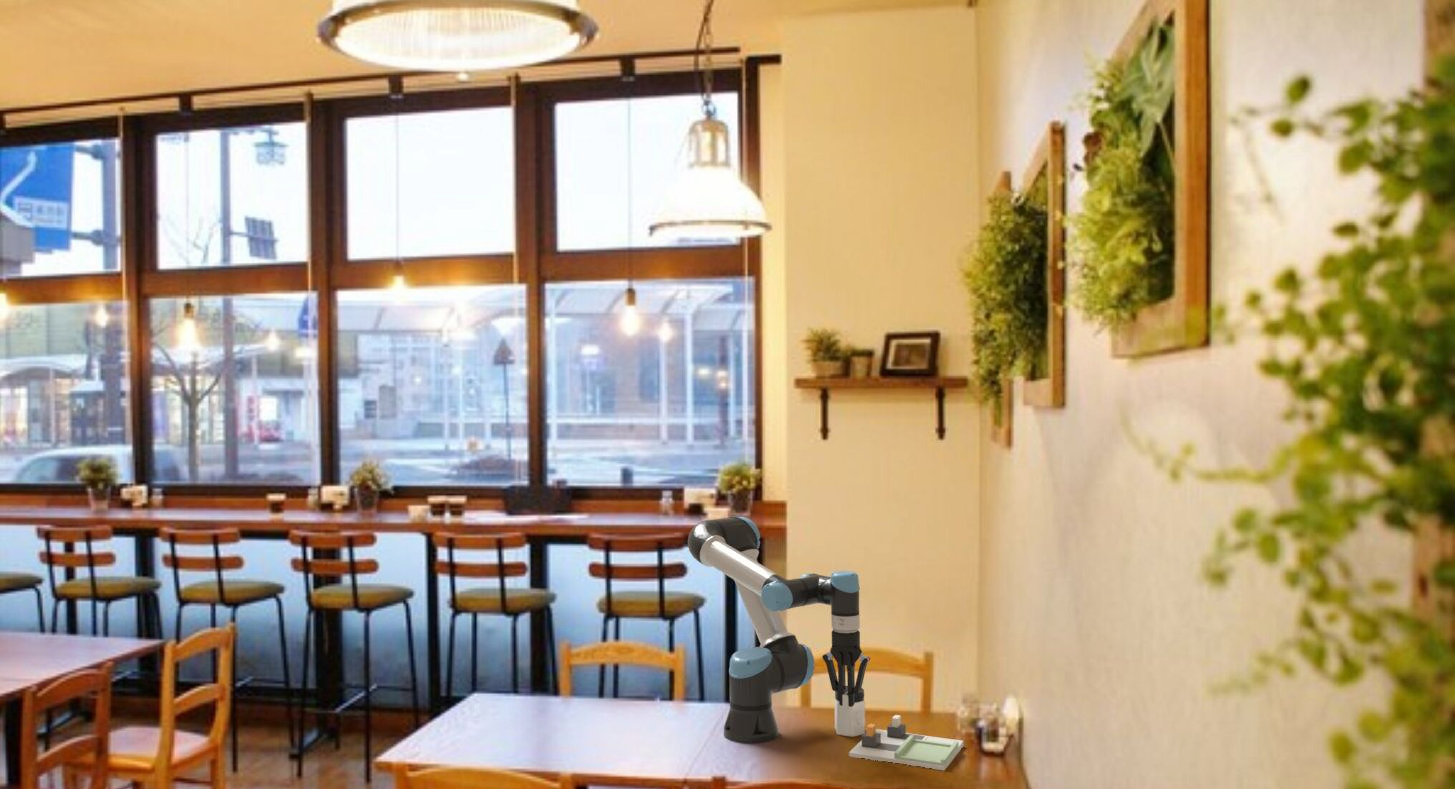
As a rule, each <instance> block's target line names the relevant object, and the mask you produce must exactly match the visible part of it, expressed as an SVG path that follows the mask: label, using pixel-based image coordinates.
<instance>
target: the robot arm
mask: <svg viewBox="0 0 1455 789" xmlns="http://www.w3.org/2000/svg"><path fill="white" fill-rule="evenodd" d="M760 534H761V533H760V531H759V528H758V527H757V525H756V523H755V522H754V521H753V520H751V519H750V518H748V517H744V516H729V517H724V518H716V519H707V520H706V519H705V520H702V521H700V522H698V523H697V524H695V525H694V526H693V527H692V528H691V530H690V532H689V534H688V537H687V547H688V550H689V553H690V554H691V556H692V557H693V558H694V559H695V560H696V561H697V562H699V563H700V564H702V565H703V566H705V567H707V568H711V567H713V568H715V569H716V570H717V571H720V572H722V574H724V575H726V576H727V577H728V578H731V579H732V580H733V581H734V583H735V585H736V587H737V591H738V592H739V595H740V598H741V600H742V603H743V604H744V607H745V609H746V612H747V615H748V617H749V618H750V621H751V625H752V627H753V628H754V631H755V634H756V636H757V638H758V641H759V643H760V645H759V646H753V647H745V648H743V649H740V650H737V651H735V652H734V653H733V654H732V655H731V656H730V659H729V668H728V673H729V709H728V713H727V716H726V719H725V723H724V725H723V737H724V738H725V739H726V740H729V741H731V742H735V743H739V744H764V743H767V742H772V741H774V740H776V739H778V737H779V727H778V723H777V720H776V716H775V714H774V711H773V707H772V704H773V701H772V700H773V699H772V698H773V695H774V694H777V693H781V692H785V691H788V690H796V689H799V687H802V686H805V685H807V684H808V683H810V681H811V680H812V678H813V676H814V671H815V666H816V665H815V658H814V655H813V651H812V650H811V648H809V646H808V645H806V644H804V643H799V642H798V639H797V637H796V634H795V633H794V634H793V633H792V632H789V631H788V630H787V627H786V624H785V622H784V620H783V617H782V615H781V613H780V612H782V611H785V610H791V609H794V608H800V607H805V606H812V605H815V604H822V605H827V606H830V608H831V609H830V613H831V614H830V616H831V617H830V619H831V620H830V622H831V629H832V631H831V647H830V650H829V652H826V653H824V654H822V659H823V661H824V662H825V665H826V669H827V672H828V677H829V683H830V686H831V690H832V691H833V692H835V691H837V692H838V693H839V704H840V705H841V706H843V719H846V720H848V719H850V718H851V707H852V706H854V704H855V703H854V694H855V693H858V692H859V691H861V688H863V684H864V678H865V674H866V669H867V665H868V663H869V662H870V661H871V658H870V657H869V656H866V655H864V654H863V651H862V649H861V636H860V635H861V632H860V630H859V629H860V628H861V627H860V625H861V624H860V622H861V620H860V580H859V575H858V573H857V572H855V571H851V570H837V571H832V572H831V573H830V576H827V575H822V574H817V573H804V574H802V575H801V576H800V577H798V578H793V579H786V578H785V577H783V576H781V575H779V574H778V573H776V572H774V571H773V570H771V569H769V568H768V567H766V566H764V565H762V564H761V563H759V562H758V559H757V558H758V557H759V553H760V551H759V548H760V544H761V541H760V539H761V535H760ZM833 659H834V660H835V661H836V663H837V664H836V665H837V670H836V667H835V662H834V660H833ZM858 660H859V663H860V664H859V667H858V671H857V676H856V678H855V667H856V663H857V661H858ZM836 671H837V672H836ZM846 672H847V674H846ZM846 676H847V678H846ZM846 679H847V683H846ZM855 679H856V681H855ZM846 684H847V685H846ZM846 686H848V692H845V691H846Z"/></svg>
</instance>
